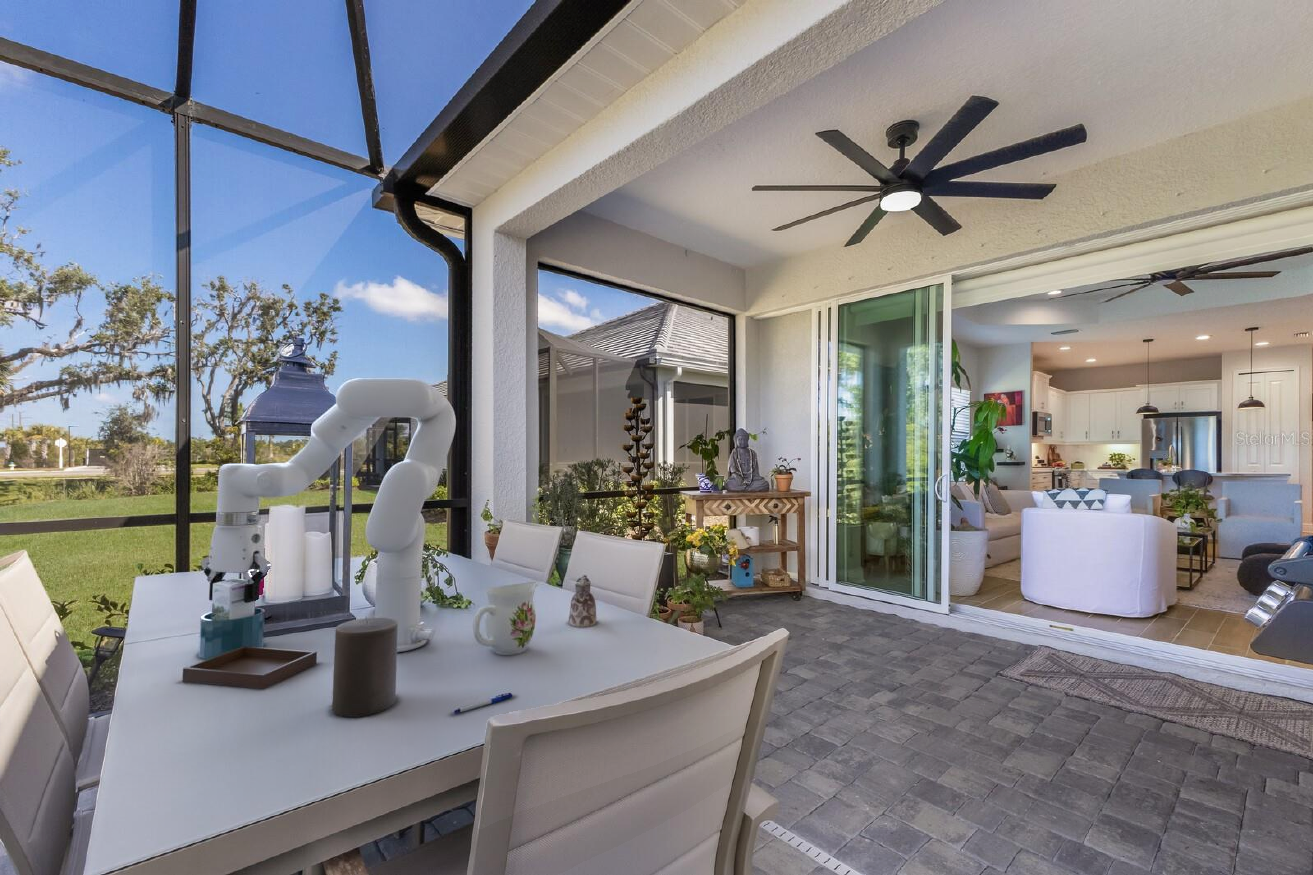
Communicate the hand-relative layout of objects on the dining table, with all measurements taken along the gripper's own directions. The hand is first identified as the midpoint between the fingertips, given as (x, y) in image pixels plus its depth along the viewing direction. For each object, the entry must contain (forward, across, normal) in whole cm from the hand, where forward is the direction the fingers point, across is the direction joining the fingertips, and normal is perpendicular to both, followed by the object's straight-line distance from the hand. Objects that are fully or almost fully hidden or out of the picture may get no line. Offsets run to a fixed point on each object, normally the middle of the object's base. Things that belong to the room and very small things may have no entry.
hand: (234, 599), depth 125 cm
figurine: (+11, -68, -37) cm, 78 cm away
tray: (+11, -15, +10) cm, 21 cm away
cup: (+11, 0, 0) cm, 11 cm away
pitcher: (+11, -58, -12) cm, 60 cm away
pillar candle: (+11, -46, +19) cm, 51 cm away
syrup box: (+11, 0, 0) cm, 11 cm away
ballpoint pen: (+11, -66, +15) cm, 69 cm away
